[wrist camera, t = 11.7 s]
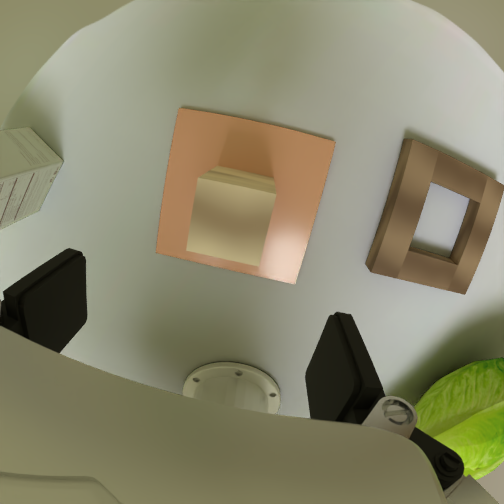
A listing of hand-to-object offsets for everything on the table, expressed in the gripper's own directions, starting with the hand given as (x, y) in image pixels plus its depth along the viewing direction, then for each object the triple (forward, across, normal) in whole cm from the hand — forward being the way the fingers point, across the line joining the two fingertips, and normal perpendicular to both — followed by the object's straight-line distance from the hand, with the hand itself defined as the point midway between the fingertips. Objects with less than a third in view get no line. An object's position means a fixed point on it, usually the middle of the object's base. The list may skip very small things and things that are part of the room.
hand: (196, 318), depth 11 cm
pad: (+18, 0, -1) cm, 19 cm away
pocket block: (+18, -20, -4) cm, 27 cm away
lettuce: (+20, -35, +18) cm, 44 cm away
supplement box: (+19, +24, 0) cm, 31 cm away
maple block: (+18, 0, -1) cm, 18 cm away
